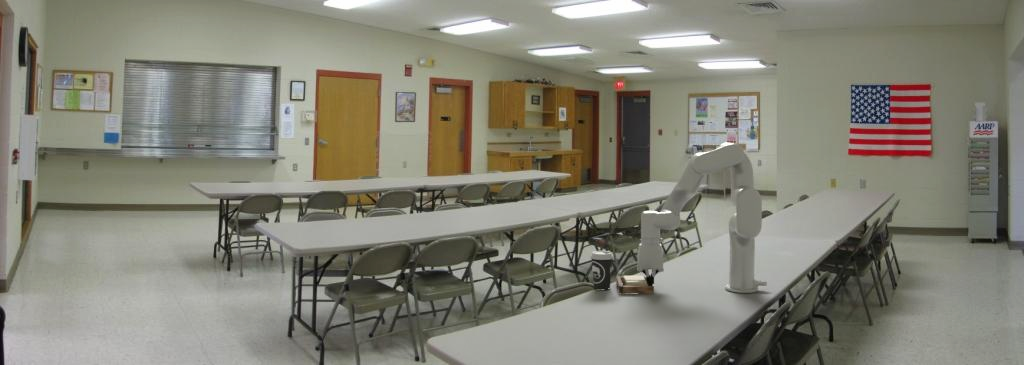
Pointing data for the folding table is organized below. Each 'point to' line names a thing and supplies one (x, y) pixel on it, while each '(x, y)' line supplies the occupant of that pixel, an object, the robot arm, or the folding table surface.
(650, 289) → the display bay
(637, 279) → the carton
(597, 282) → the coffee cup
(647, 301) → the folding table surface
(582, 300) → the folding table surface
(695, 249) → the folding table surface
